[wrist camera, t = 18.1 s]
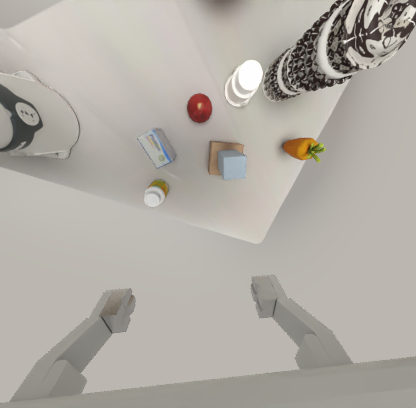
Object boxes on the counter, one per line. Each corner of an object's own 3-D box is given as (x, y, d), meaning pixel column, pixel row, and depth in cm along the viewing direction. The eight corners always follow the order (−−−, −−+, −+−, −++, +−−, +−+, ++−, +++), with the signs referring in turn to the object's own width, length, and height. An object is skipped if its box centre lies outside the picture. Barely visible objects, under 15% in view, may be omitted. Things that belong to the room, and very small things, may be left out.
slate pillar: (218, 168, 40) (223, 180, 31) (217, 150, 38) (223, 157, 29) (235, 167, 40) (245, 178, 32) (235, 149, 38) (246, 155, 30)
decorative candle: (253, 94, 38) (331, 45, 16) (273, 48, 35) (409, -96, 12) (283, 110, 40) (389, 86, 18) (304, 69, 37) (470, -25, 14)
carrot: (288, 155, 46) (326, 166, 32) (273, 152, 45) (305, 162, 32) (295, 138, 44) (339, 141, 30) (280, 134, 43) (317, 136, 30)
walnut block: (208, 169, 46) (209, 174, 41) (210, 140, 43) (212, 142, 37) (233, 170, 47) (238, 176, 42) (238, 143, 44) (243, 145, 38)
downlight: (255, 102, 39) (272, 92, 30) (229, 113, 40) (238, 106, 31) (248, 65, 36) (264, 40, 27) (220, 77, 37) (226, 57, 28)
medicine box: (147, 136, 41) (135, 137, 33) (161, 128, 41) (153, 127, 33) (163, 162, 45) (156, 169, 37) (176, 155, 44) (172, 161, 36)
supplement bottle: (166, 178, 47) (159, 189, 38) (170, 194, 49) (164, 208, 40) (149, 180, 47) (137, 192, 38) (154, 196, 49) (144, 211, 40)
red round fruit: (212, 121, 41) (215, 119, 33) (190, 124, 41) (189, 123, 33) (208, 94, 38) (211, 86, 31) (186, 98, 38) (183, 91, 31)
